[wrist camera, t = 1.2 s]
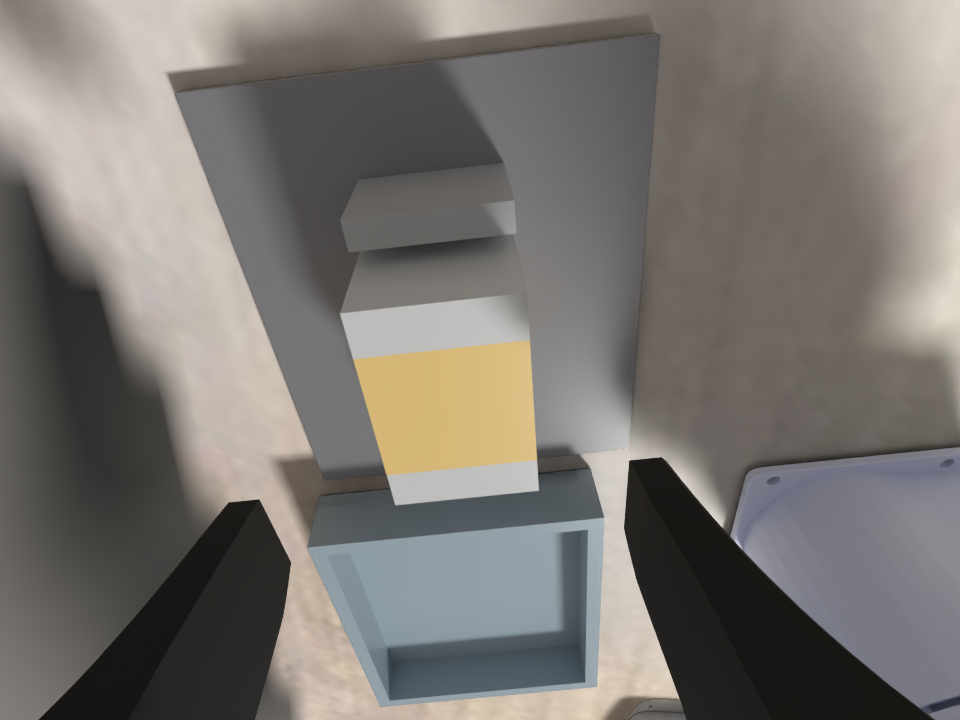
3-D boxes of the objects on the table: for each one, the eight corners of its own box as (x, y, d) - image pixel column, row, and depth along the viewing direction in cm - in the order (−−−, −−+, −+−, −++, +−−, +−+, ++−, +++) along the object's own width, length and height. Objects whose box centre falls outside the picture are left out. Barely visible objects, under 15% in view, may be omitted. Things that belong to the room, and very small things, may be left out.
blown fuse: (507, 209, 16) (527, 292, 12) (520, 380, 19) (538, 490, 15) (368, 225, 16) (340, 313, 12) (407, 393, 19) (395, 505, 15)
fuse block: (655, 33, 14) (706, 48, 11) (626, 441, 22) (651, 510, 19) (180, 90, 14) (114, 120, 11) (326, 472, 22) (308, 545, 19)
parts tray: (590, 468, 23) (604, 517, 21) (587, 638, 30) (596, 686, 28) (319, 496, 23) (306, 547, 21) (385, 657, 31) (380, 706, 29)
